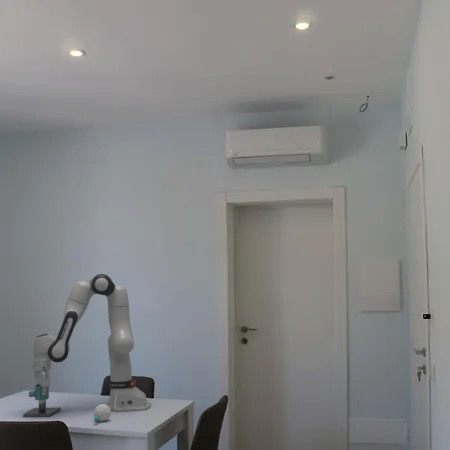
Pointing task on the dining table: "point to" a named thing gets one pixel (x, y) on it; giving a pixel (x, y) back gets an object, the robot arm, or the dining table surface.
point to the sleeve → (39, 393)
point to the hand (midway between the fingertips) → (42, 393)
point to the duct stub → (42, 411)
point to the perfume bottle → (102, 412)
